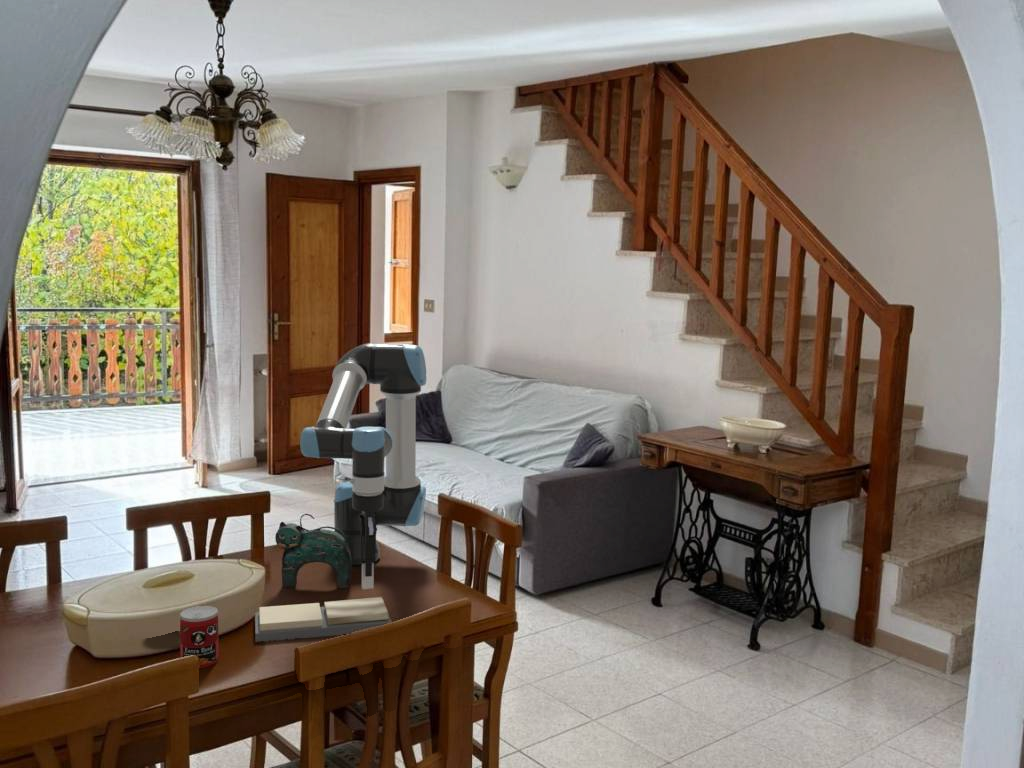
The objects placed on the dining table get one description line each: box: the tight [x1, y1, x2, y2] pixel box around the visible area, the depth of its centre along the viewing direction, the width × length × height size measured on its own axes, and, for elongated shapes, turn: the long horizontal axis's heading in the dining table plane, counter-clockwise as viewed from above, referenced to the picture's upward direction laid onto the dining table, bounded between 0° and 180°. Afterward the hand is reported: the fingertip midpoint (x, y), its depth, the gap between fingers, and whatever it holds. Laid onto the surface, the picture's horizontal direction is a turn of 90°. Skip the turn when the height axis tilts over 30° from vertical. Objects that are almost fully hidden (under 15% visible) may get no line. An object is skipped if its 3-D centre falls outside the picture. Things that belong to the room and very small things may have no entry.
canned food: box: [179, 605, 219, 669], centre depth 190 cm, size 8×8×11 cm
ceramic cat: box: [274, 513, 353, 589], centre depth 239 cm, size 20×6×20 cm, turn 92°
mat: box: [254, 602, 393, 643], centre depth 212 cm, size 14×31×4 cm, turn 106°
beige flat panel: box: [323, 596, 389, 625], centre depth 214 cm, size 11×14×2 cm
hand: (367, 587), depth 214 cm, fingers closed
